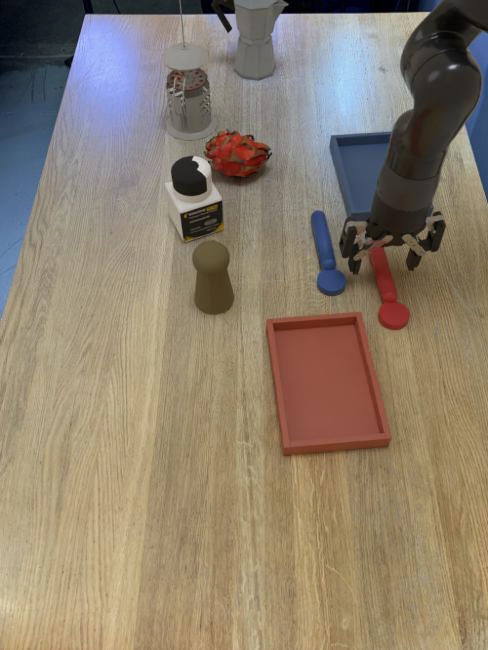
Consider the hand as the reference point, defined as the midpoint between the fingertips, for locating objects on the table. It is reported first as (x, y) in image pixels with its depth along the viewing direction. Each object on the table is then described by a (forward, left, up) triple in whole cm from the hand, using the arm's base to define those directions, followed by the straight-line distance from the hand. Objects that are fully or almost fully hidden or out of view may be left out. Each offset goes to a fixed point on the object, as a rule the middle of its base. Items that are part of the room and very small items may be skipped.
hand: (381, 268), depth 91 cm
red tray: (+12, +18, -2) cm, 21 cm away
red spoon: (0, +3, -2) cm, 3 cm away
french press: (+28, -39, -2) cm, 48 cm away
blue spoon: (+8, -4, -2) cm, 9 cm away
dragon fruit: (+20, -26, -2) cm, 33 cm away
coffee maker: (+15, -57, -2) cm, 59 cm away
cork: (+26, +2, -2) cm, 26 cm away
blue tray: (-4, -21, -2) cm, 22 cm away
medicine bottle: (+28, -14, -2) cm, 31 cm away
